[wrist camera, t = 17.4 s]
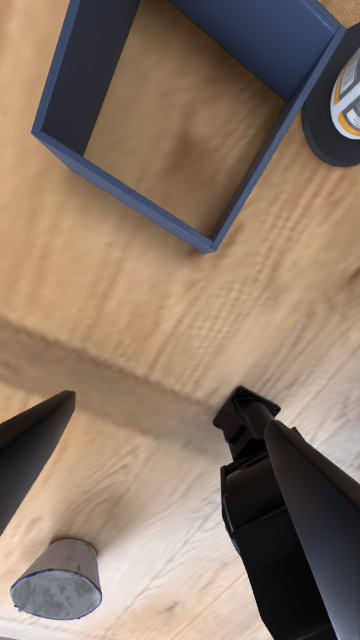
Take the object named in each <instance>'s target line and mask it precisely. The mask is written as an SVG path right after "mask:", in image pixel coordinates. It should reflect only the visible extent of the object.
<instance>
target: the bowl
mask: <svg viewBox="0 0 360 640" xmlns="http://www.w3.org/2000/svg"><path fill="white" fill-rule="evenodd" d="M10 593H11V598H12V601H13V602H14V604H15V605H14V606H15V607H17V608H19V609H18V611H19V612H21V611H24V612H26V613H29V614H32V615H35V616H38V617H42V618H46V619H52V620H73V619H80V618H81V617H83V616H86V615H88V614H89V613H91V612H92V611H94V610H95V609H96V608H97V607H98V606H99V605H100V603H101V601H102V592H101V587H100V581H99V573H98V564H97V556H96V552H95V549H94V548H93V547H92V546H91V545H90V544H88V543H87V542H84V541H81V540H77V539H62V540H58V541H56V542H54V543H52V544H51V545H50V546H49V547H48V548H47V549H46V550H45V551H44V552H43V553H42V554H41V555H40V556H39V557H38V558H37V559H36V561H35V562H34V563H33V564H32V565H31V566H30V567H29V568H28V569H27V570H26V571H25V572H24V573H23V575H22V576H21V577H20V578H19V579H18V580H17V581H16V582H15V583H14V584H13V585H12V586H11V588H10Z"/></svg>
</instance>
